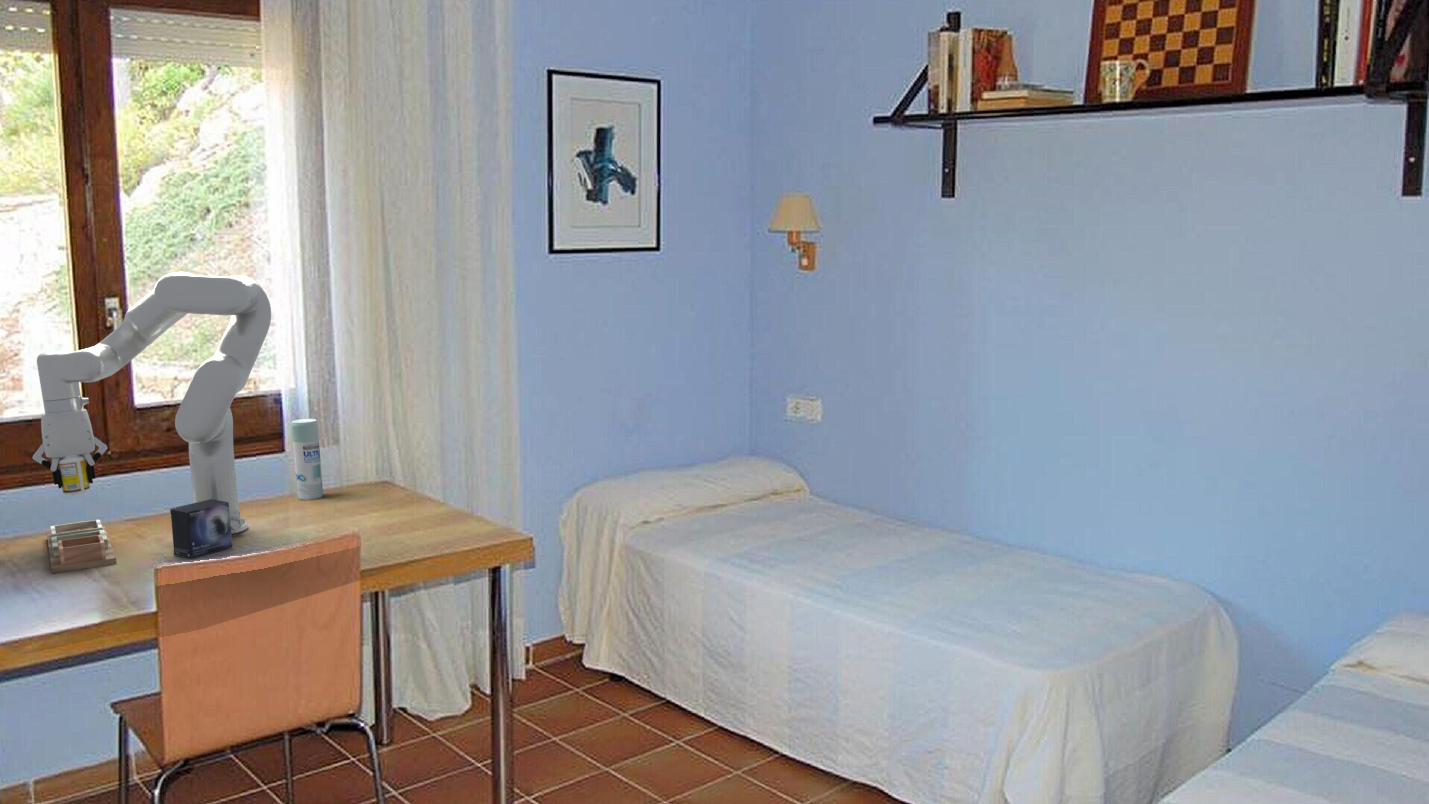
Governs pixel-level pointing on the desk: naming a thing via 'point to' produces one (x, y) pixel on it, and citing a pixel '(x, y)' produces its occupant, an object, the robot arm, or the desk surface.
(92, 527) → the plate
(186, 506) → the small box
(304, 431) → the spray paint can
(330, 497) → the desk surface
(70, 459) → the supplement bottle
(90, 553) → the board
